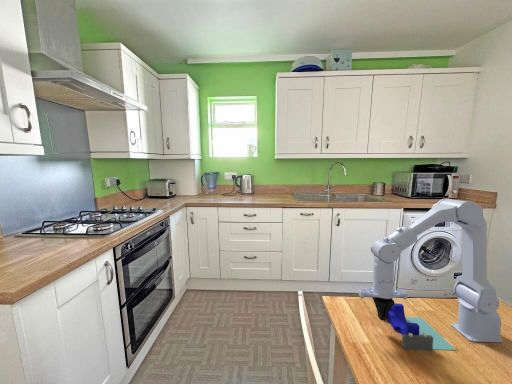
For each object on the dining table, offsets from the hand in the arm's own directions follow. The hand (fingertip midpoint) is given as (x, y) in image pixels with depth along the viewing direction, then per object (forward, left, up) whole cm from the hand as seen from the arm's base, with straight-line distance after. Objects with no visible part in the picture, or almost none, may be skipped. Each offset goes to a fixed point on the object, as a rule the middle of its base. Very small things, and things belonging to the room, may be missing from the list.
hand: (381, 318), depth 74 cm
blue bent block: (-7, 0, -4) cm, 8 cm away
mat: (-14, 0, -4) cm, 14 cm away
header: (-7, 0, -4) cm, 8 cm away
